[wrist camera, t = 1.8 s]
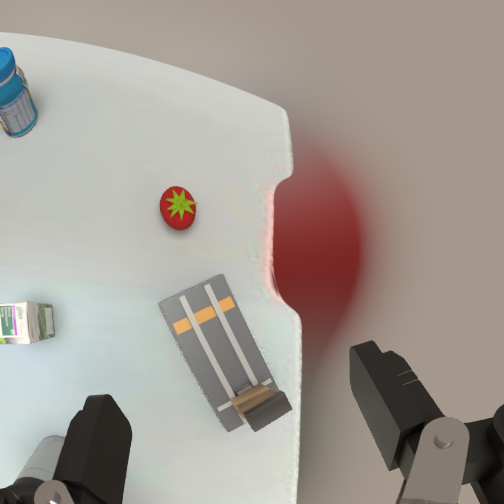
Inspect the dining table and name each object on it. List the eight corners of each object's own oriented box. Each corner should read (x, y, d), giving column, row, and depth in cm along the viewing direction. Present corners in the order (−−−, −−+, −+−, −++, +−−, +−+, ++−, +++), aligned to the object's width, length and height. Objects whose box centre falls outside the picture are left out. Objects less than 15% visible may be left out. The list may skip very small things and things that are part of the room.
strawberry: (183, 193, 59) (192, 172, 50) (195, 231, 59) (207, 216, 50) (153, 202, 57) (156, 181, 48) (165, 241, 57) (170, 227, 47)
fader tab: (265, 394, 54) (293, 410, 44) (233, 412, 52) (255, 433, 42) (256, 377, 54) (283, 391, 44) (224, 395, 52) (245, 414, 42)
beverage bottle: (28, 141, 50) (-1, 81, 31) (-3, 136, 47) (-36, 79, 29) (44, 107, 52) (25, 43, 33) (14, 103, 49) (-10, 42, 31)
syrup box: (24, 305, 46) (-9, 303, 32) (52, 304, 48) (26, 301, 34) (27, 337, 45) (-5, 345, 31) (56, 336, 47) (30, 344, 33)
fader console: (277, 396, 58) (287, 401, 54) (223, 427, 54) (230, 435, 50) (218, 275, 59) (224, 272, 55) (158, 303, 54) (159, 302, 50)
